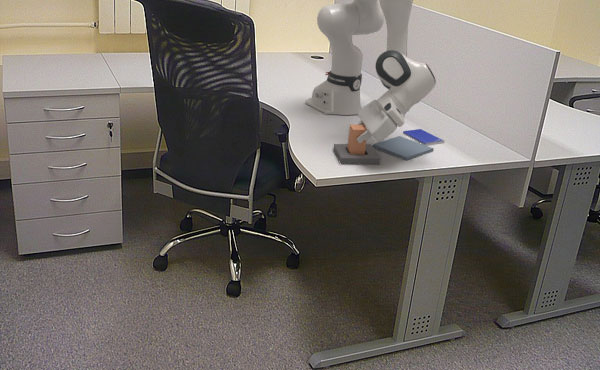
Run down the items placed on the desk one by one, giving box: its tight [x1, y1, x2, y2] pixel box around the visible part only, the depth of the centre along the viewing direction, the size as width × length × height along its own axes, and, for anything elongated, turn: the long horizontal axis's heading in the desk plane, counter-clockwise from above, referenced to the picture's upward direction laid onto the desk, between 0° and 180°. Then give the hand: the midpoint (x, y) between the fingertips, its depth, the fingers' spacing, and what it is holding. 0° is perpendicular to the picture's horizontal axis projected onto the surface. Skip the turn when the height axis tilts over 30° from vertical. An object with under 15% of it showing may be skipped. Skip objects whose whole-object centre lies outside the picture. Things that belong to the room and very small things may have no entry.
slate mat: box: [371, 135, 434, 161], centre depth 210 cm, size 14×14×1 cm
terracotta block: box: [347, 124, 367, 155], centre depth 199 cm, size 4×4×8 cm
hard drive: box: [402, 128, 445, 146], centre depth 221 cm, size 2×8×12 cm
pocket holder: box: [332, 143, 381, 165], centre depth 201 cm, size 12×12×2 cm
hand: (355, 137), depth 199 cm, fingers closed on terracotta block, 4 cm apart
